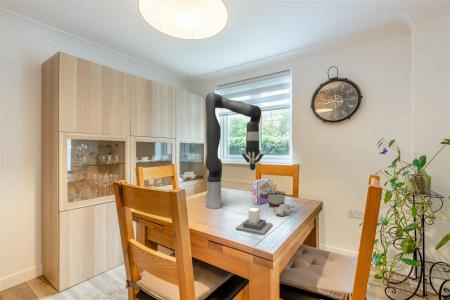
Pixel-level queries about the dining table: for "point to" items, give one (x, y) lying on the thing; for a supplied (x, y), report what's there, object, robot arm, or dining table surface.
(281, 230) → the dining table surface
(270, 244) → the dining table surface
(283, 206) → the bunny figurine
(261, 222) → the socket plate
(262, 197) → the candy box
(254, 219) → the plug
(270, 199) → the food container
